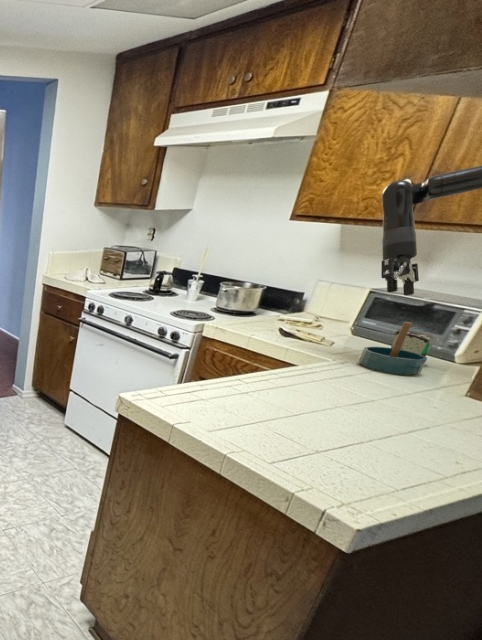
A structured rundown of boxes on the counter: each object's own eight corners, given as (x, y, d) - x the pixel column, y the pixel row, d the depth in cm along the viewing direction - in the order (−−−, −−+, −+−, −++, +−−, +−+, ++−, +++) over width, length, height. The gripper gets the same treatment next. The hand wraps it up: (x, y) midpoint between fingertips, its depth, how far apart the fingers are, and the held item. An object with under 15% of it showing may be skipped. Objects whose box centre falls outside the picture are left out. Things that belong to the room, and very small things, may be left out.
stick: (394, 365, 155) (414, 322, 149) (400, 369, 151) (420, 324, 146) (377, 363, 157) (395, 320, 151) (382, 367, 153) (401, 323, 148)
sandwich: (437, 367, 156) (451, 338, 153) (418, 367, 156) (432, 338, 153) (401, 356, 168) (413, 329, 164) (383, 356, 168) (395, 328, 164)
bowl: (408, 366, 157) (415, 350, 155) (428, 379, 145) (436, 362, 143) (351, 359, 163) (357, 344, 161) (366, 371, 151) (373, 355, 149)
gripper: (400, 236, 146) (402, 287, 145) (428, 243, 150) (430, 293, 149) (370, 245, 153) (371, 293, 152) (397, 251, 157) (399, 298, 156)
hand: (400, 293), depth 150 cm, fingers open, 8 cm apart
